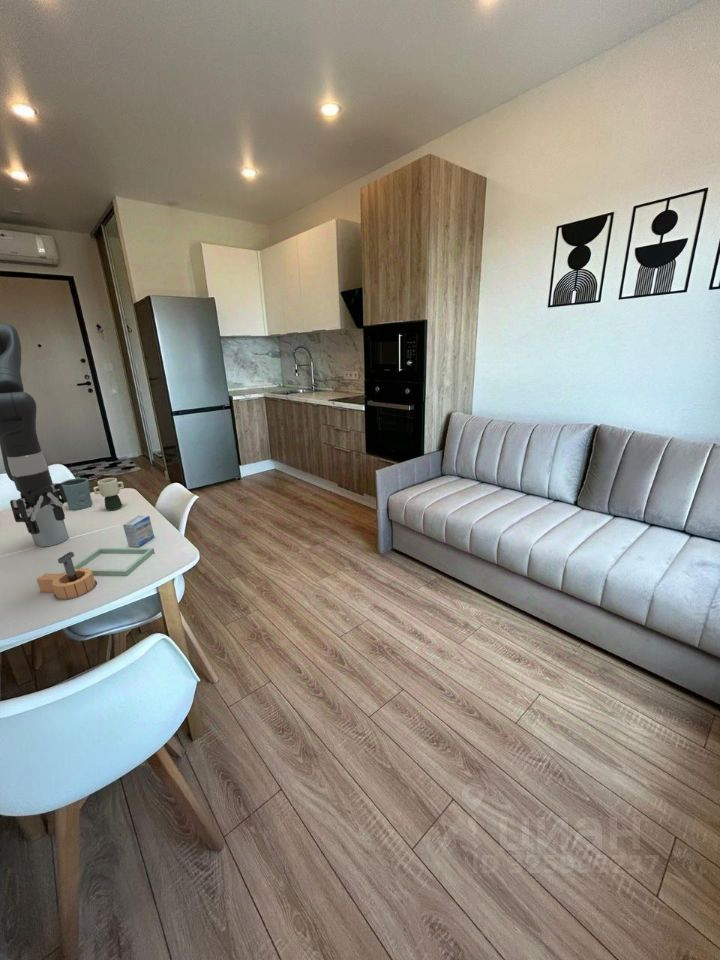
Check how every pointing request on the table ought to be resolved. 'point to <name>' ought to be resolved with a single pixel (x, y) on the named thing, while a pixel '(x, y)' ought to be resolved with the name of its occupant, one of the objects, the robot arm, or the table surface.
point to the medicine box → (138, 531)
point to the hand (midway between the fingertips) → (48, 526)
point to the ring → (67, 583)
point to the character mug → (110, 492)
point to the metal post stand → (70, 571)
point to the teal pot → (77, 493)
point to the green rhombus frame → (118, 572)
